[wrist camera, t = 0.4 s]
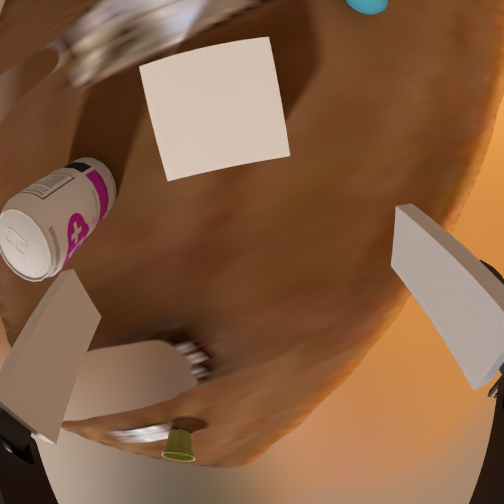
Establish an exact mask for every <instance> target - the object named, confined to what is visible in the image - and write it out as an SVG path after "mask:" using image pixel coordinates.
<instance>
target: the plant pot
mask: <svg viewBox="0 0 504 504" xmlns="http://www.w3.org/2000/svg"><path fill="white" fill-rule="evenodd" d="M162 456H164V457H166V458H169V459H172V460H177V461H194V460H195V457H194V454H193V451H192V443H191V433H189V431H187V430H183V429H171V430H170V432H169V436H168V440H167V443H166V447H165V449H164V452H163V453H162Z"/></svg>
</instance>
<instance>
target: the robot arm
mask: <svg viewBox="0 0 504 504" xmlns="http://www.w3.org/2000/svg"><path fill="white" fill-rule="evenodd" d="M391 267H392V268H393V269H394V270H395V272H396V273H397V274H398V276H399V277H400V278H401V280H402V281H403V282H404V284H405V285H406V286H407V288H408V289H409V290H410V292H411V293H412V294H413V296H414V297H415V299H416V300H417V301H418V303H419V304H420V306H421V307H422V308H423V310H424V311H425V313H426V314H427V316H428V317H429V319H430V320H431V322H432V323H433V325H434V326H435V327H436V329H437V331H438V332H439V333H440V335H441V337H442V338H443V340H444V341H445V343H446V345H447V346H448V348H449V349H450V351H451V353H452V354H453V356H454V358H455V359H456V361H457V363H458V364H459V366H460V368H461V370H462V371H463V373H464V375H465V376H466V378H467V380H468V382H469V384H470V386H471V387H472V389H473V391H475V390H477V389H478V388H480V387H482V386H483V385H485V384H486V383H488V382H490V381H491V379H492V378H493V377H494V375H495V374H496V373H497V371H498V370H500V372H501V373H502V376H501V377H500V378H499V380H498V381H497V382H496V383H495V385H494V386H493V387H492V388H491V389H490V391H489V394H488V397H491V395H492V394H493V393H494V392H495V391H496V389H497V388H498V391H497V393H496V394H495V396H494V398H497V399H496V406H495V413H494V419H493V424H492V429H491V435H490V439H489V443H488V447H487V451H486V455H485V459H484V462H483V466H482V469H481V472H480V475H479V478H478V481H477V484H476V487H475V490H474V492H473V495H472V498H471V500H470V503H469V504H504V279H503V278H502V276H501V275H500V274H499V273H498V272H497V271H496V270H495V269H494V268H493V267H492V266H490V265H489V264H487V263H485V262H483V261H482V260H478V259H477V258H476V257H475V256H474V255H473V254H472V253H471V252H470V251H468V249H466V248H465V247H464V246H463V245H462V244H461V243H460V242H459V241H457V240H456V239H455V238H454V237H453V236H452V235H450V234H449V233H448V232H447V231H446V230H445V229H443V228H442V227H441V226H440V225H438V224H437V223H436V222H435V221H434V220H432V219H431V218H430V217H428V216H427V215H426V214H425V213H423V212H422V211H421V210H419V209H418V208H417V207H416V206H414V205H413V204H406V205H400V206H396V215H395V229H394V241H393V251H392V260H391ZM100 319H101V316H100V314H99V312H98V311H97V309H96V308H95V306H94V304H93V303H92V301H91V299H90V298H89V296H88V294H87V293H86V291H85V289H84V287H83V286H82V284H81V282H80V280H79V278H78V277H77V275H76V273H75V271H74V269H71V270H66V271H62V272H61V273H60V274H59V276H58V277H57V278H56V280H55V281H54V283H53V284H52V285H51V287H50V288H49V290H48V291H47V293H46V294H45V295H44V297H43V298H42V300H41V301H40V303H39V304H38V306H37V307H36V309H35V310H34V312H33V314H32V315H31V317H30V318H29V320H28V322H27V323H26V325H25V327H24V328H23V330H22V332H21V333H20V335H19V337H18V338H17V340H16V342H15V344H14V345H13V347H12V349H11V351H10V353H9V355H8V357H7V359H6V361H5V362H4V364H3V366H2V369H1V370H0V504H58V502H57V500H56V497H55V495H54V493H53V490H52V488H51V485H50V483H49V480H48V477H47V475H46V472H45V469H44V466H43V463H42V460H41V457H40V454H39V450H38V447H37V444H36V441H35V440H34V439H33V438H32V437H31V433H33V434H35V435H36V436H38V437H39V438H40V439H42V440H44V441H47V442H50V443H53V444H56V443H57V439H58V435H59V432H60V428H61V424H62V421H63V418H64V414H65V411H66V407H67V405H68V402H69V399H70V396H71V393H72V390H73V387H74V384H75V381H76V378H77V375H78V373H79V370H80V367H81V365H82V362H83V359H84V357H85V355H86V352H87V350H88V347H89V345H90V342H91V340H92V337H93V335H94V333H95V330H96V328H97V326H98V324H99V321H100Z"/></svg>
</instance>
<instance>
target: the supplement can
mask: <svg viewBox="0 0 504 504" xmlns="http://www.w3.org/2000/svg"><path fill="white" fill-rule="evenodd" d="M115 197H116V186H115V180H114V178H113V176H112V174H111V172H110V170H109V169H108V168H107V167H106V166H105V165H104V164H103V163H102V162H100V161H98V160H96V159H94V158H88V157H83V158H80V159H77V160H75V161H73V162H71V163H69V164H67V165H65V166H63V167H61V168H59V169H58V170H56V171H54V172H52V173H51V174H49V175H47V176H45V177H44V178H42V179H40V180H39V181H37V182H35V183H34V184H32V185H30V186H29V187H27V188H26V189H24V190H23V191H21V192H19V193H18V194H16V195H15V196H13V197H12V198H10V199H9V200H8V202H7V203H6V205H5V206H4V208H3V210H2V213H1V215H0V253H1V255H2V257H3V258H4V260H5V261H6V263H7V265H8V266H9V267H10V268H11V269H12V270H13V271H14V272H15V273H16V274H18V275H19V276H21V277H22V278H24V279H26V280H29V281H33V282H35V281H41V280H43V279H44V278H47V277H51V276H54V275H55V274H56V273H57V272H58V271H60V270H61V269H62V267H63V266H64V265H65V263H66V262H67V261H68V259H69V258H70V257H71V256H72V254H73V253H74V252H75V251H76V249H77V248H78V247H79V246H80V245H81V243H82V242H83V241H84V240H85V239H86V237H87V236H88V235H89V234H90V233H91V232H92V230H93V229H94V228H95V227H96V226H97V225H98V224H99V222H100V221H101V220H102V219H103V218H104V217H105V216H106V215H107V214H108V212H109V211H110V210H111V208H112V206H113V205H114V202H115Z"/></svg>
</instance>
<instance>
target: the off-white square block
mask: <svg viewBox="0 0 504 504" xmlns="http://www.w3.org/2000/svg"><path fill="white" fill-rule="evenodd" d="M139 68H140V73H141V78H142V82H143V87H144V91H145V96H146V100H147V104H148V108H149V113H150V117H151V121H152V125H153V129H154V133H155V136H156V140H157V144H158V148H159V152H160V155H161V159H162V163H163V166H164V170H165V173H166V177H167V180H168V181H171V180H175V179H179V178H183V177H187V176H191V175H195V174H199V173H204V172H208V171H213V170H217V169H222V168H227V167H231V166H236V165H242V164H247V163H252V162H258V161H263V160H269V159H275V158H281V157H287V156H290V152H289V146H288V139H287V133H286V126H285V120H284V114H283V108H282V102H281V97H280V91H279V85H278V80H277V75H276V70H275V64H274V59H273V54H272V50H271V45H270V40H269V37H262V38H254V39H247V40H240V41H234V42H228V43H223V44H218V45H213V46H208V47H204V48H200V49H195V50H191V51H188V52H184V53H180V54H176V55H173V56H170V57H166V58H163V59H160V60H157V61H154V62H151V63H148V64H145V65H142V66H139Z"/></svg>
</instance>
